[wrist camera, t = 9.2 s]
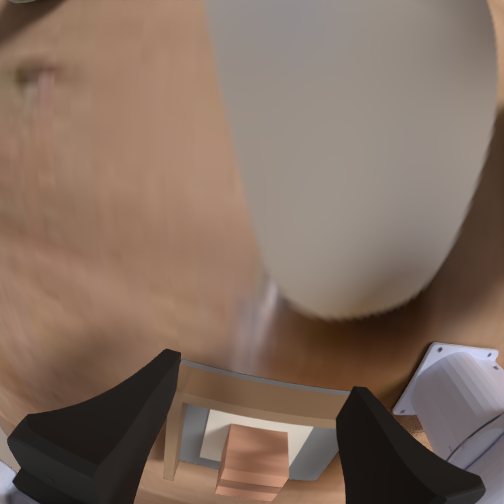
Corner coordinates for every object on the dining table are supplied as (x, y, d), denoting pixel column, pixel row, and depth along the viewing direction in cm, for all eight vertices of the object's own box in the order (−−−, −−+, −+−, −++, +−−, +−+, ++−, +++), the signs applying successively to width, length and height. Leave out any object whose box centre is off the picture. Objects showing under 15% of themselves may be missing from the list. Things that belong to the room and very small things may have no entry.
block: (287, 432, 23) (289, 478, 18) (272, 461, 24) (271, 502, 20) (231, 423, 23) (224, 469, 18) (222, 452, 24) (214, 494, 20)
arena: (371, 393, 22) (382, 422, 19) (315, 476, 26) (317, 501, 23) (182, 359, 22) (169, 388, 19) (171, 453, 26) (163, 478, 23)
